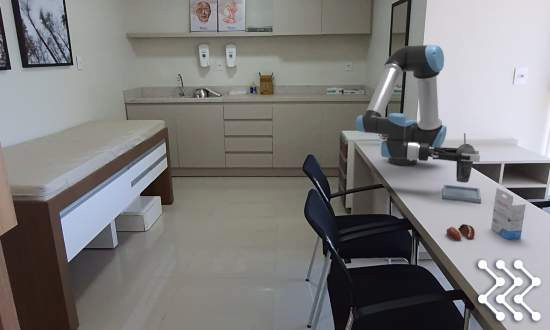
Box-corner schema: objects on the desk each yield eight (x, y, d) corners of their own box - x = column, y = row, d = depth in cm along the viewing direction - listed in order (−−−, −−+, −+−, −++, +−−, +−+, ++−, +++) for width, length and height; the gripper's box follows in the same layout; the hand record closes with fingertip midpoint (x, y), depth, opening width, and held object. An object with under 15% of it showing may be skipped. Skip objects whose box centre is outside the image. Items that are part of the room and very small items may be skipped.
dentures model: (445, 223, 128) (466, 220, 129) (443, 234, 129) (464, 232, 130) (456, 230, 122) (478, 228, 124) (454, 242, 124) (476, 240, 125)
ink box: (521, 238, 124) (528, 195, 120) (506, 239, 124) (513, 196, 120) (504, 227, 133) (510, 186, 129) (490, 228, 132) (495, 187, 128)
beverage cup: (474, 184, 157) (480, 135, 152) (455, 183, 159) (460, 134, 153) (469, 178, 164) (475, 131, 159) (451, 177, 166) (456, 131, 160)
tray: (443, 188, 172) (443, 184, 172) (478, 192, 167) (479, 188, 166) (442, 198, 160) (442, 194, 159) (480, 203, 154) (481, 199, 154)
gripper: (420, 154, 176) (476, 159, 166) (415, 165, 158) (479, 171, 149) (421, 138, 174) (478, 142, 164) (417, 147, 156) (481, 152, 147)
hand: (478, 156), depth 157 cm, fingers closed on beverage cup, 7 cm apart
